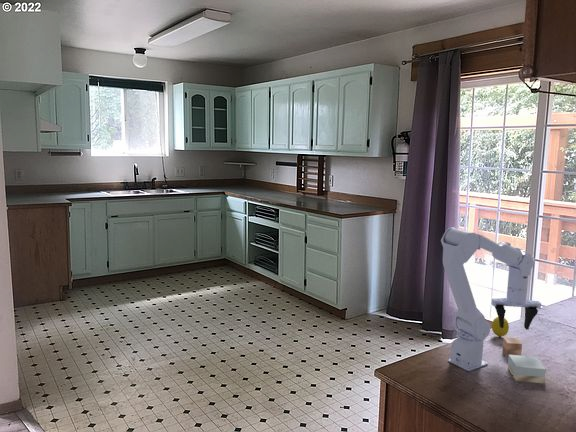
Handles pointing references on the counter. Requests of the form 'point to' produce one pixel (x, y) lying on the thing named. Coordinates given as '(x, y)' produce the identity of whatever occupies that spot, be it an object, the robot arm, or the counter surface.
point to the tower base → (526, 377)
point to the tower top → (526, 365)
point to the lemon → (498, 329)
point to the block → (512, 346)
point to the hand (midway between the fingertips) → (513, 327)
